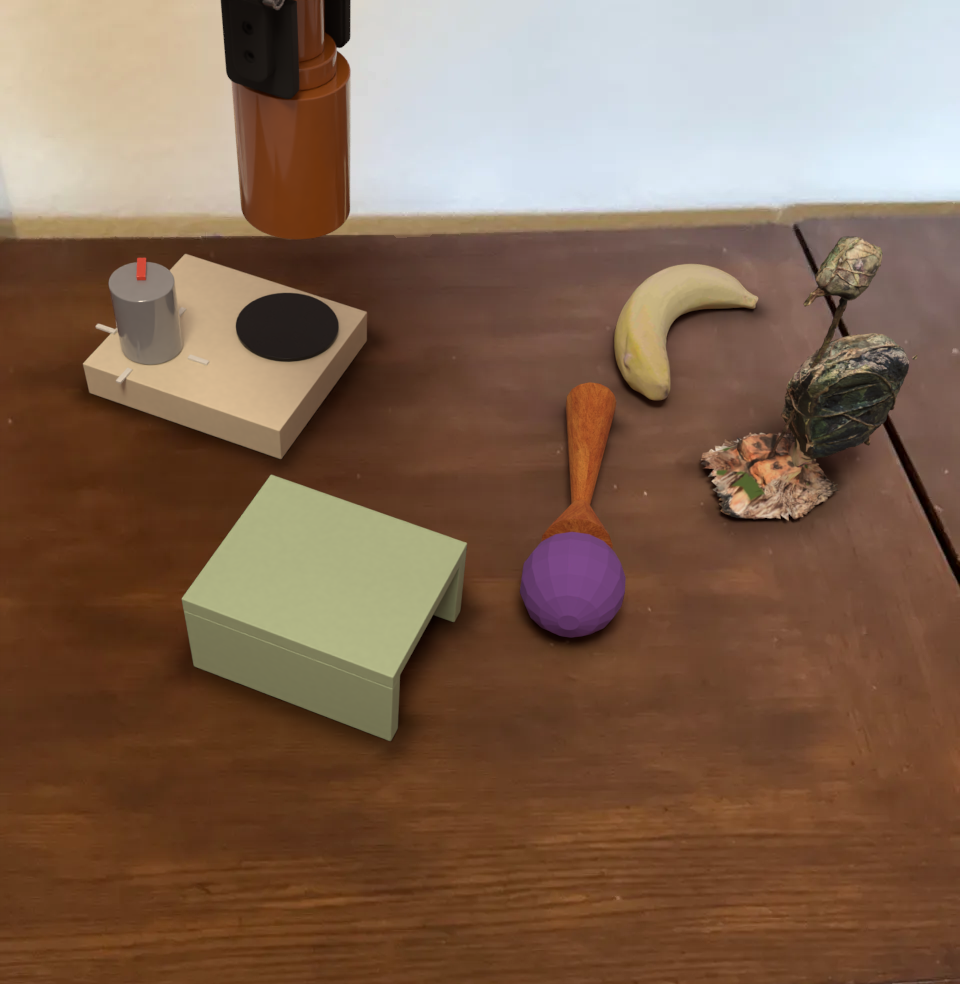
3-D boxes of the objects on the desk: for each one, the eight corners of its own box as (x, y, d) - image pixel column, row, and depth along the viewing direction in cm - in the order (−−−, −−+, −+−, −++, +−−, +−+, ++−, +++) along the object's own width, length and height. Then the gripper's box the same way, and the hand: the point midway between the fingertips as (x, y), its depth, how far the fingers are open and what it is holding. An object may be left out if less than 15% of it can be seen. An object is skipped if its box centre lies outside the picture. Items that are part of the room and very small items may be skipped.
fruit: (570, 371, 87) (576, 333, 84) (675, 268, 95) (684, 230, 92) (659, 417, 85) (669, 379, 82) (759, 307, 93) (770, 270, 90)
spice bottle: (221, 219, 59) (195, -62, 49) (273, 164, 62) (259, -111, 52) (319, 252, 58) (314, -26, 48) (368, 195, 61) (372, -79, 51)
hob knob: (183, 364, 81) (173, 296, 77) (119, 366, 80) (105, 298, 76) (183, 324, 83) (174, 256, 79) (121, 325, 83) (108, 257, 78)
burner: (217, 342, 82) (216, 339, 82) (265, 285, 86) (265, 281, 86) (310, 374, 81) (310, 370, 81) (355, 314, 85) (355, 310, 85)
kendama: (650, 381, 81) (638, 602, 68) (617, 449, 85) (601, 669, 72) (562, 354, 80) (533, 572, 67) (534, 424, 85) (502, 641, 71)
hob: (69, 393, 82) (61, 361, 80) (175, 278, 90) (170, 246, 88) (277, 465, 79) (274, 435, 77) (367, 340, 87) (367, 309, 85)
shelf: (193, 666, 70) (180, 598, 65) (276, 544, 75) (270, 473, 71) (390, 742, 68) (393, 677, 63) (460, 610, 73) (467, 542, 69)
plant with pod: (881, 527, 80) (1010, 264, 64) (708, 526, 79) (796, 258, 63) (850, 438, 85) (963, 173, 69) (687, 436, 84) (763, 166, 68)
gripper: (245, -405, 35) (275, 185, 49) (478, -516, 44) (445, 4, 59) (12, -462, 36) (108, 130, 50) (288, -557, 46) (302, -38, 60)
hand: (289, 57), depth 54 cm, fingers closed on spice bottle, 4 cm apart
